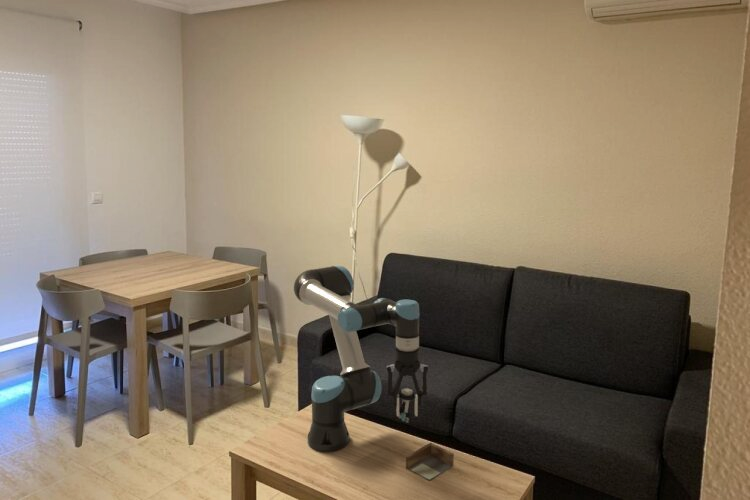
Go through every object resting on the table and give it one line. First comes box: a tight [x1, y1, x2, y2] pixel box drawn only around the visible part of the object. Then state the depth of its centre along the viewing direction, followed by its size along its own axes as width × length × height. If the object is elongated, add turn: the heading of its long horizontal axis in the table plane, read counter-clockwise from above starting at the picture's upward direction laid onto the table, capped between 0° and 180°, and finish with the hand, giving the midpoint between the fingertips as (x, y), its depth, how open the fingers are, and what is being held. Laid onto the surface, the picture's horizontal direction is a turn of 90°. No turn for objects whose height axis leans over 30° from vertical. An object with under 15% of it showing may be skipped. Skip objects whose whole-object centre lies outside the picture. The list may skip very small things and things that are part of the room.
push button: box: [398, 387, 416, 424], centre depth 197 cm, size 7×5×10 cm
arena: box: [405, 442, 455, 482], centre depth 201 cm, size 10×13×4 cm
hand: (406, 414), depth 197 cm, fingers closed on push button, 5 cm apart
